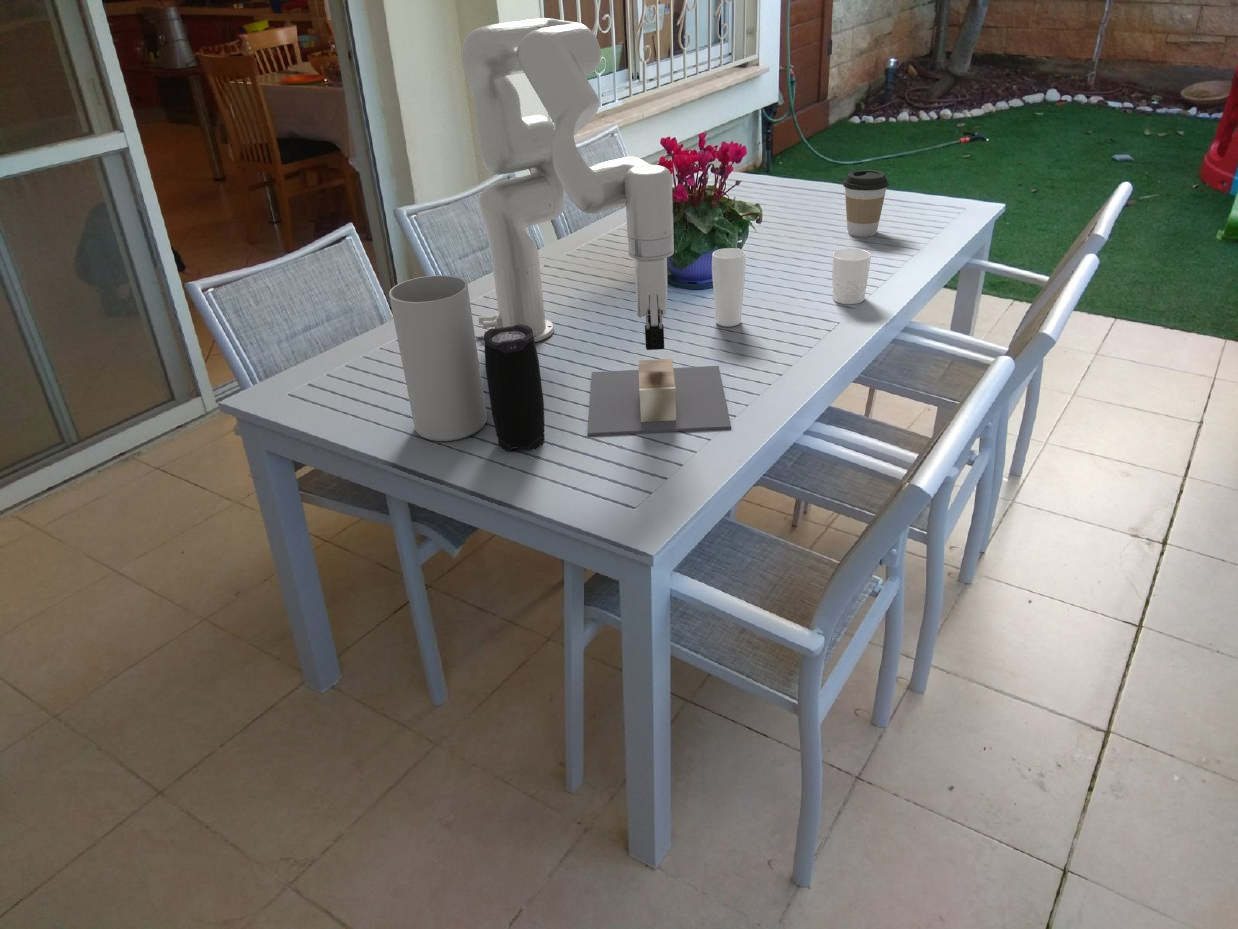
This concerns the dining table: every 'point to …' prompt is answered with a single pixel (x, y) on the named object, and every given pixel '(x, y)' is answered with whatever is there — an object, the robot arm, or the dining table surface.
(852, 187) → the coffee cup
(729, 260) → the drinking glass
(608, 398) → the rubber mat
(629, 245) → the robot arm
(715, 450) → the dining table surface
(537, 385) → the portable speaker
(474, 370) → the cylinder vase
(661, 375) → the wooden box
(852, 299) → the white cup
